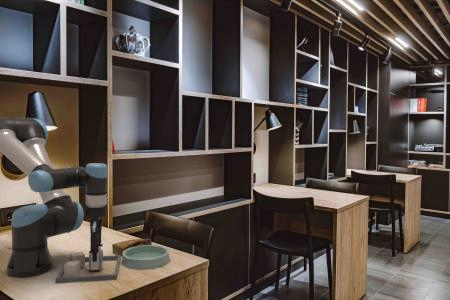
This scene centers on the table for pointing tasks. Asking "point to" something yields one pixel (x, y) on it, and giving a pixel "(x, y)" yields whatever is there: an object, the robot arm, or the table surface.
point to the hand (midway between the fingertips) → (95, 266)
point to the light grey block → (72, 269)
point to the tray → (91, 277)
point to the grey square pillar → (99, 260)
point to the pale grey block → (78, 258)
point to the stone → (129, 245)
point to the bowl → (145, 257)
